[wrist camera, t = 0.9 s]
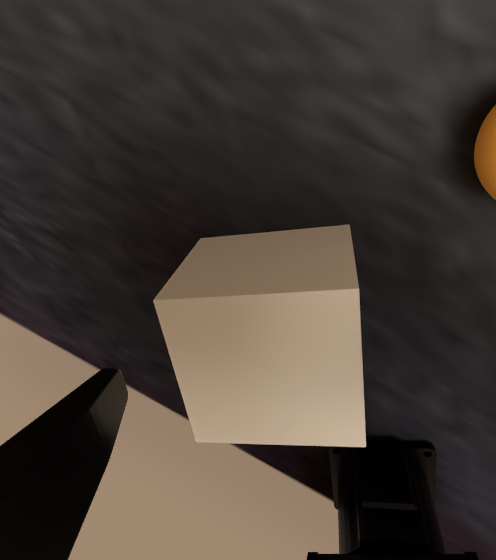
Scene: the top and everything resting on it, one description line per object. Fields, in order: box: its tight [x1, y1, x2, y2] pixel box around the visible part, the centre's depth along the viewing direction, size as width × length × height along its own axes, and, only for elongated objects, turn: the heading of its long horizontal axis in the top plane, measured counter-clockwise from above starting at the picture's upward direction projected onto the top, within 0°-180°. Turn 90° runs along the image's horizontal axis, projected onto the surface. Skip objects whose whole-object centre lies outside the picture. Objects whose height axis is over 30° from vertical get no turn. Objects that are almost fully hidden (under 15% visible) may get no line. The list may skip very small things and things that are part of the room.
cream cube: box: [153, 224, 366, 447], centre depth 19 cm, size 8×8×7 cm
